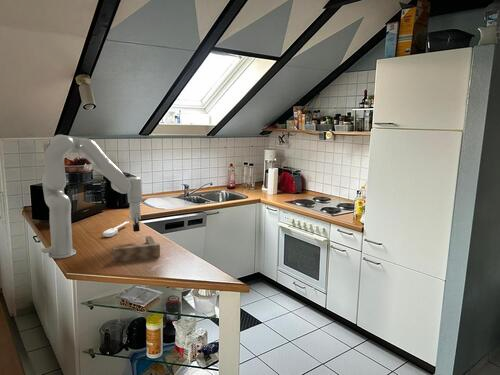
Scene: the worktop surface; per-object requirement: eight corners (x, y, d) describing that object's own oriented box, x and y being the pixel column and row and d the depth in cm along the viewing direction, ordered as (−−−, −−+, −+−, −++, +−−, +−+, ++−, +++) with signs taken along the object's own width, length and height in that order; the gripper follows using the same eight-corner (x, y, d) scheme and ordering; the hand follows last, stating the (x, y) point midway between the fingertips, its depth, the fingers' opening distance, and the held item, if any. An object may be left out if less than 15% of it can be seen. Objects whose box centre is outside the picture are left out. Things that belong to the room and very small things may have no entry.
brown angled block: (113, 262, 185) (113, 249, 184) (109, 246, 209) (109, 234, 208) (159, 257, 194) (159, 244, 193) (151, 241, 218) (151, 230, 216)
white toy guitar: (124, 225, 250) (124, 221, 250) (132, 225, 249) (132, 221, 249) (100, 237, 223) (100, 232, 223) (110, 238, 222) (109, 233, 222)
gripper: (126, 197, 219) (128, 228, 223) (129, 202, 206) (131, 235, 209) (139, 196, 222) (141, 226, 226) (143, 201, 209) (145, 234, 212)
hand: (136, 231), depth 217 cm, fingers closed
